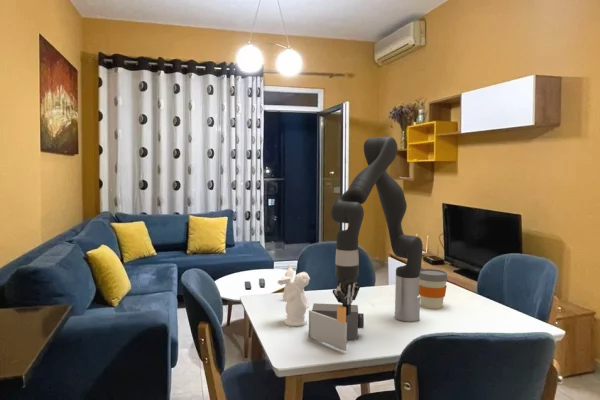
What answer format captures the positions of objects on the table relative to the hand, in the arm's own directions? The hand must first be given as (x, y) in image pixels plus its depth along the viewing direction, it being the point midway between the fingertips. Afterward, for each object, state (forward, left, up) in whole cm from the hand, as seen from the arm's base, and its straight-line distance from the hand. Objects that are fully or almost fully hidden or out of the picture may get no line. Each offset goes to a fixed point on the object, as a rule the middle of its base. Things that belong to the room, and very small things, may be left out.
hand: (346, 314), depth 150 cm
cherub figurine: (+21, -22, -12) cm, 33 cm away
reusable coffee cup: (-37, -52, -12) cm, 65 cm away
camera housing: (+4, -12, -12) cm, 17 cm away
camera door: (+7, -2, -11) cm, 13 cm away
